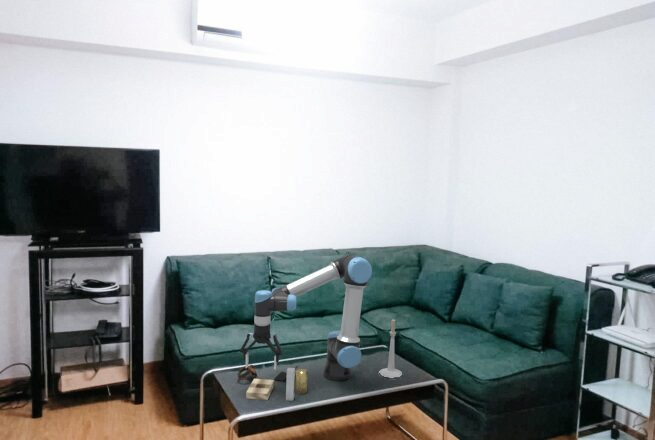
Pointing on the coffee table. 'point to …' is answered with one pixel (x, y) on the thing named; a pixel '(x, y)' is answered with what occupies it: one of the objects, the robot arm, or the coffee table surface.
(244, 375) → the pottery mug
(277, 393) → the coffee table surface
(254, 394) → the socket plate
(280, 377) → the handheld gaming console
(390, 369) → the candlestick
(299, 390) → the round brass bit
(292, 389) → the square steel bit
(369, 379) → the coffee table surface
